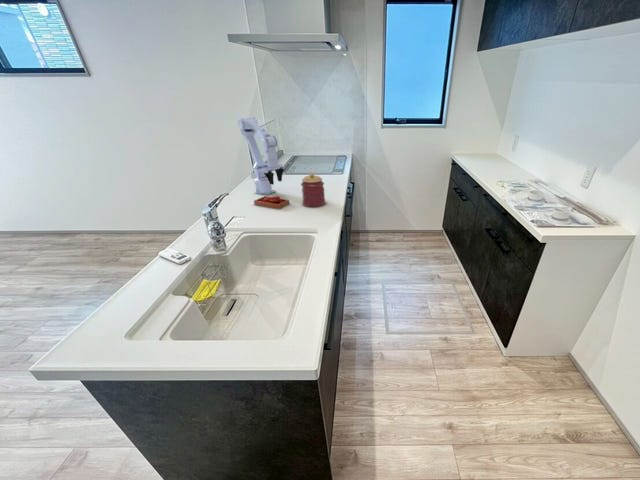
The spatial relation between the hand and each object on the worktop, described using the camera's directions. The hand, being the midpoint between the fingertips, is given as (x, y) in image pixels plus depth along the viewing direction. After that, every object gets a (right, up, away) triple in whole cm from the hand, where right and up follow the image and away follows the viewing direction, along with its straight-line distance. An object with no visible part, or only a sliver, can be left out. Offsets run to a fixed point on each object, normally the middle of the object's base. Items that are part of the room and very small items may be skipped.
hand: (275, 182), depth 187 cm
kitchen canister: (+24, -14, -4) cm, 28 cm away
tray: (-1, -14, -5) cm, 15 cm away
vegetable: (0, -14, -5) cm, 15 cm away
